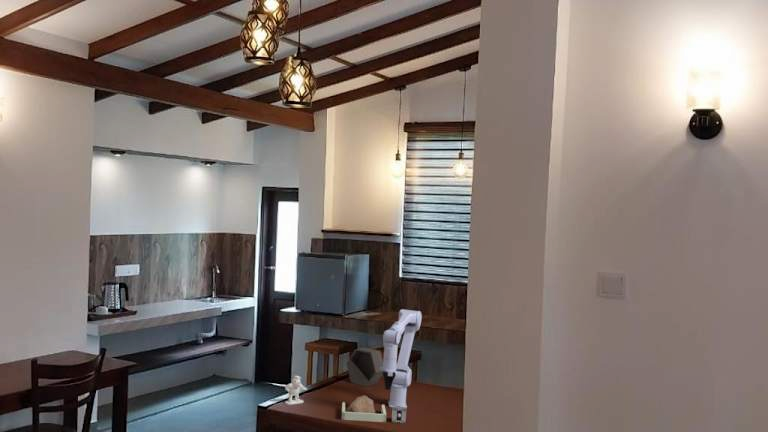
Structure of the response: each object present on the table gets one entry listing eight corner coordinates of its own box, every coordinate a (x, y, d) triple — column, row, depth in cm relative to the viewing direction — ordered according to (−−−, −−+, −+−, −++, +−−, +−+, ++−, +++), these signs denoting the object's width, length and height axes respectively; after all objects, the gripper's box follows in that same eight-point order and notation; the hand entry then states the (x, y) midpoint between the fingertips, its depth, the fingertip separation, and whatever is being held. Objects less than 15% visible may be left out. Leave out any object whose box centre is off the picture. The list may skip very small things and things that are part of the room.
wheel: (391, 417, 294) (392, 405, 294) (403, 418, 295) (404, 406, 295) (392, 421, 288) (393, 409, 288) (405, 422, 289) (406, 409, 289)
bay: (341, 409, 304) (342, 402, 304) (383, 411, 305) (384, 404, 305) (341, 419, 287) (342, 412, 287) (386, 422, 288) (386, 415, 288)
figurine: (290, 406, 302) (293, 378, 303) (282, 402, 307) (284, 375, 307) (307, 403, 309) (309, 376, 309) (298, 400, 313) (300, 373, 314)
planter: (341, 370, 359) (360, 340, 353) (350, 369, 365) (370, 339, 359) (361, 394, 351) (381, 364, 344) (370, 392, 357) (390, 362, 350)
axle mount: (391, 420, 291) (392, 406, 291) (405, 421, 291) (406, 407, 292) (391, 422, 289) (393, 407, 289) (405, 422, 289) (406, 408, 290)
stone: (370, 418, 301) (361, 396, 304) (383, 411, 295) (374, 389, 298) (349, 427, 292) (340, 404, 294) (363, 420, 286) (353, 397, 289)
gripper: (380, 354, 309) (377, 384, 309) (381, 360, 295) (379, 392, 295) (395, 355, 310) (393, 386, 309) (398, 361, 295) (396, 393, 295)
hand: (387, 389), depth 302 cm, fingers closed
